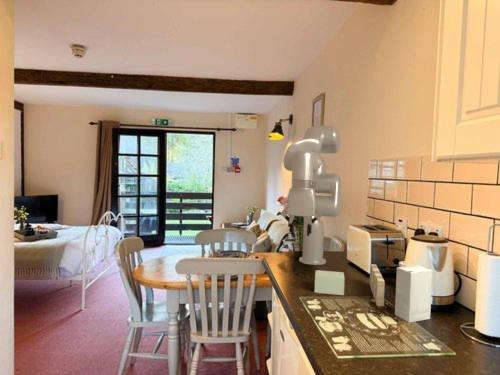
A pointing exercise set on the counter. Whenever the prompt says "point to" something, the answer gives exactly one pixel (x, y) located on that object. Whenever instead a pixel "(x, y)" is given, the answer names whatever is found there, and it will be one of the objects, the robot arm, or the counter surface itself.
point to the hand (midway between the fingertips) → (300, 234)
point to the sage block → (329, 282)
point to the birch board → (377, 285)
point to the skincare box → (413, 293)
